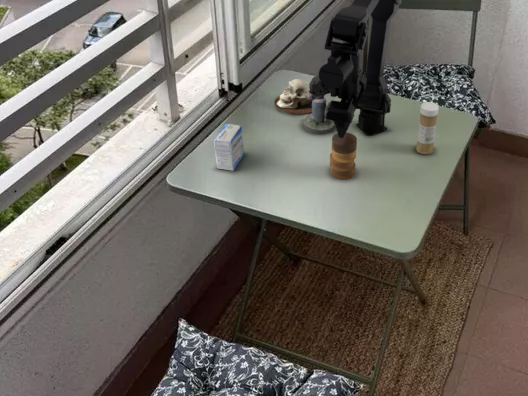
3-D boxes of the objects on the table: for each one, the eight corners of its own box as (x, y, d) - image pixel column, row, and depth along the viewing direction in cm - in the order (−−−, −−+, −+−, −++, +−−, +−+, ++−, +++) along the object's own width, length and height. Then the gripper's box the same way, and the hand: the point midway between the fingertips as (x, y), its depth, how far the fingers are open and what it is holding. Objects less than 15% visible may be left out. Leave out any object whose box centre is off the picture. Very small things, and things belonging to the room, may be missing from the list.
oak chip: (347, 146, 170) (347, 138, 169) (360, 158, 166) (361, 150, 165) (326, 153, 167) (327, 144, 166) (339, 165, 163) (340, 156, 162)
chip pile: (346, 162, 173) (347, 146, 170) (359, 175, 169) (360, 158, 166) (325, 170, 170) (325, 153, 167) (338, 182, 166) (338, 165, 163)
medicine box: (233, 171, 168) (231, 142, 163) (216, 168, 168) (213, 139, 163) (244, 154, 174) (242, 125, 169) (227, 151, 175) (225, 122, 169)
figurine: (321, 137, 182) (321, 98, 175) (296, 126, 186) (296, 87, 179) (340, 125, 188) (341, 86, 180) (316, 114, 191) (317, 76, 184)
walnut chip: (348, 138, 169) (348, 129, 167) (361, 150, 165) (361, 141, 163) (327, 144, 166) (327, 136, 164) (340, 156, 162) (340, 148, 160)
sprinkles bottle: (432, 145, 182) (437, 101, 173) (433, 155, 178) (439, 110, 170) (414, 145, 181) (419, 100, 173) (416, 155, 178) (421, 110, 170)
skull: (282, 117, 187) (273, 80, 188) (276, 124, 197) (267, 90, 197) (324, 108, 191) (315, 73, 191) (315, 116, 201) (306, 83, 201)
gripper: (322, 46, 162) (322, 103, 172) (301, 82, 148) (302, 143, 157) (368, 52, 161) (365, 110, 171) (352, 89, 147) (349, 150, 156)
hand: (345, 127), depth 164 cm, fingers open, 9 cm apart
